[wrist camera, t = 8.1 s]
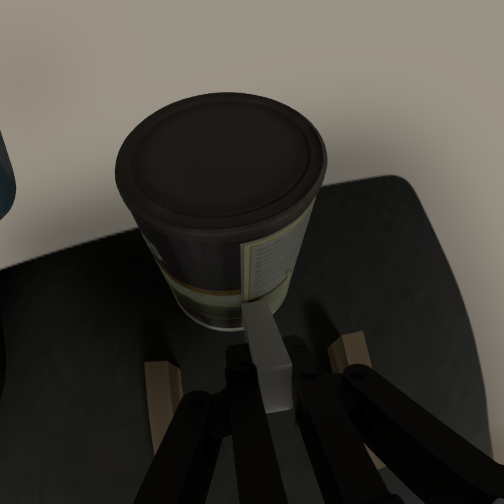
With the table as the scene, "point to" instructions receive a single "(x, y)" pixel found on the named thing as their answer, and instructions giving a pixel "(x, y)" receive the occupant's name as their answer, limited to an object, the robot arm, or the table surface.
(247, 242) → the coffee can
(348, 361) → the chute
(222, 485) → the table surface
